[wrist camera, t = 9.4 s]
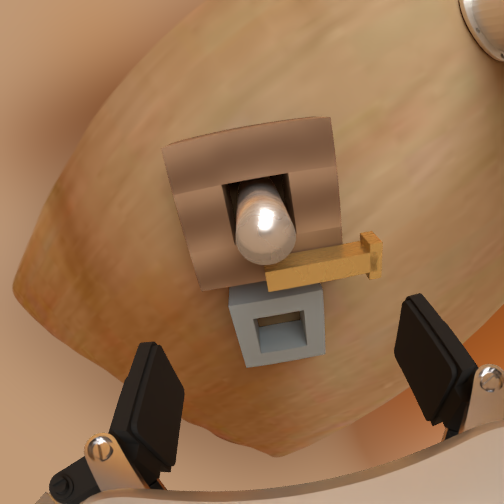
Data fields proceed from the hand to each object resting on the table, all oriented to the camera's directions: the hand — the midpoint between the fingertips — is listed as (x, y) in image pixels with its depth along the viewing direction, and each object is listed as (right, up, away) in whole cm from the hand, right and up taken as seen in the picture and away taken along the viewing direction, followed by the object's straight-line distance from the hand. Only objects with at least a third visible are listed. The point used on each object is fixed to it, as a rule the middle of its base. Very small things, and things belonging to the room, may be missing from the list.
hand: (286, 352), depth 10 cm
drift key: (+5, +3, +17) cm, 18 cm away
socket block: (-1, +10, +20) cm, 22 cm away
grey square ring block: (+2, -3, +27) cm, 27 cm away
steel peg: (-1, +10, +20) cm, 22 cm away
